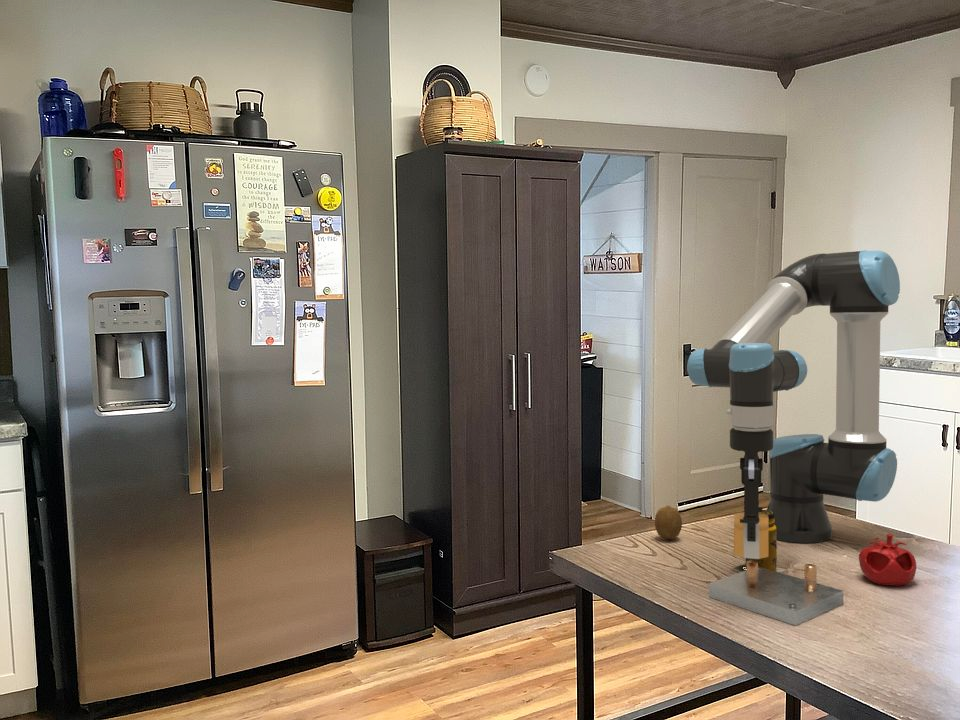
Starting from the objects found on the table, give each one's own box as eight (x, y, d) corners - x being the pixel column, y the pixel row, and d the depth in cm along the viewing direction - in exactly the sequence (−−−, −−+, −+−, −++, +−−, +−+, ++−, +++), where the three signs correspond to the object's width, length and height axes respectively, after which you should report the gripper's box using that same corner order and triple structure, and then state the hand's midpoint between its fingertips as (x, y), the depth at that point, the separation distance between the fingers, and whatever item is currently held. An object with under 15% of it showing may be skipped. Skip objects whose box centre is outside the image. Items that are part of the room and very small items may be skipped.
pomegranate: (856, 572, 165) (855, 526, 165) (911, 575, 162) (910, 528, 162) (862, 587, 156) (862, 539, 156) (921, 591, 153) (920, 541, 152)
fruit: (684, 543, 187) (684, 508, 186) (657, 543, 187) (656, 509, 187) (679, 535, 193) (678, 502, 193) (652, 535, 193) (652, 502, 193)
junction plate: (757, 578, 162) (756, 544, 162) (843, 604, 148) (843, 566, 148) (708, 596, 154) (708, 560, 153) (795, 625, 139) (795, 585, 139)
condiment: (786, 570, 167) (785, 512, 166) (759, 579, 162) (758, 520, 161) (756, 561, 173) (755, 505, 172) (729, 570, 168) (728, 512, 167)
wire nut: (768, 550, 153) (768, 513, 152) (768, 559, 147) (768, 521, 147) (734, 547, 155) (734, 511, 154) (733, 557, 149) (733, 519, 149)
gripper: (731, 420, 160) (731, 536, 161) (728, 435, 142) (728, 566, 143) (772, 421, 157) (772, 539, 159) (774, 436, 139) (774, 570, 141)
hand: (751, 552), depth 151 cm, fingers closed on wire nut, 6 cm apart
